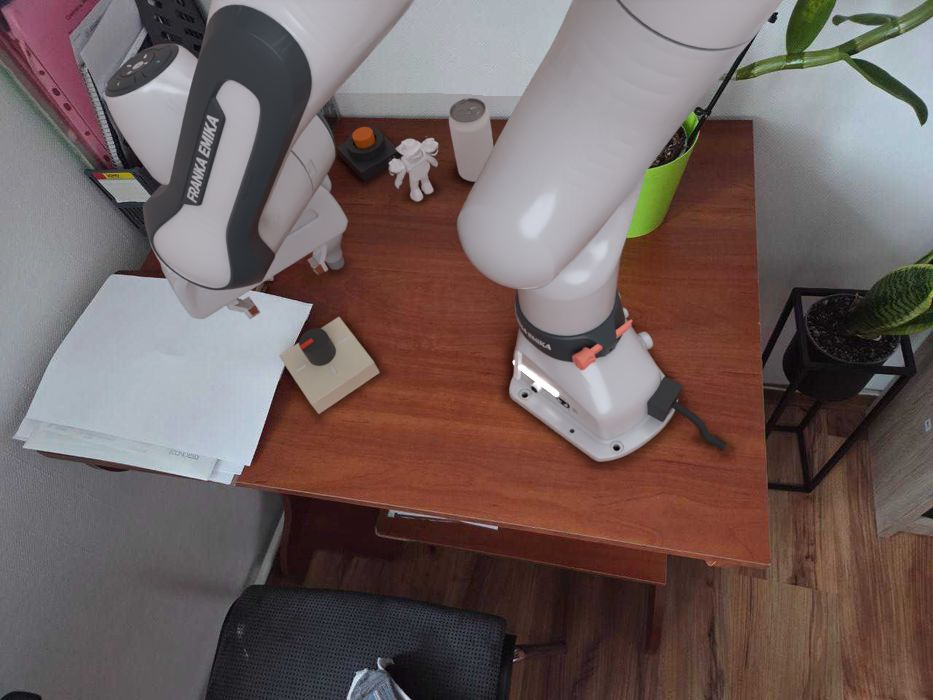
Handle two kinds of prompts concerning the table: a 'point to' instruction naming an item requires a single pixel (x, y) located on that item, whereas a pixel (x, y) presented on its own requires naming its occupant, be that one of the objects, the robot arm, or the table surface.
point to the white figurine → (415, 165)
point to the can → (470, 136)
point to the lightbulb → (334, 253)
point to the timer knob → (317, 346)
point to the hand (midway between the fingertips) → (287, 291)
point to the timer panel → (331, 368)
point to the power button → (363, 137)
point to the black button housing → (369, 155)
